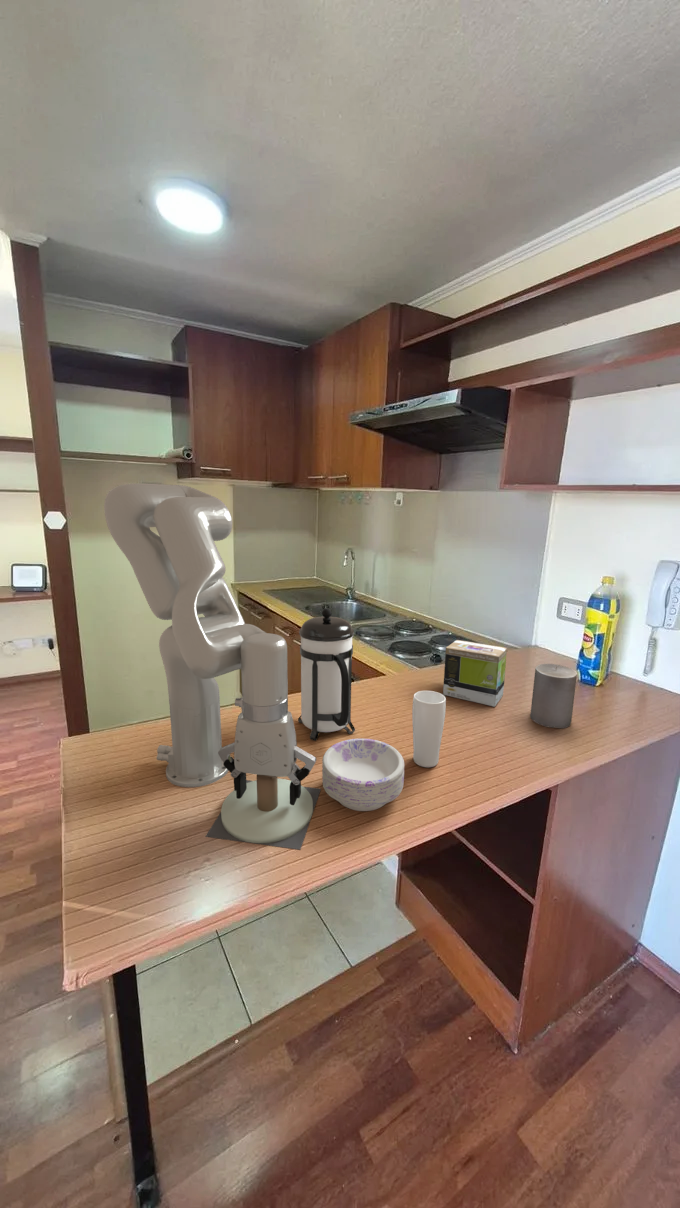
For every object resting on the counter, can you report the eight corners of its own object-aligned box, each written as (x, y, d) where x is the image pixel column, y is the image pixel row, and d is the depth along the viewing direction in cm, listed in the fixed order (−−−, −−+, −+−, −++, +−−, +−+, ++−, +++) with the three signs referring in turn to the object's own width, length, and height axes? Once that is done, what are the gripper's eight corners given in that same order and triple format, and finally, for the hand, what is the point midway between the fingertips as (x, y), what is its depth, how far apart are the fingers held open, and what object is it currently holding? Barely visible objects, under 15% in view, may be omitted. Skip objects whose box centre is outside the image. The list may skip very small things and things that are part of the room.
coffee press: (280, 735, 109) (278, 612, 102) (315, 709, 123) (315, 599, 116) (345, 754, 101) (348, 622, 94) (374, 724, 115) (378, 607, 108)
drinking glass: (419, 750, 103) (423, 687, 100) (447, 760, 99) (452, 696, 96) (403, 762, 98) (406, 697, 95) (432, 774, 94) (436, 706, 90)
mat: (205, 838, 75) (205, 836, 75) (241, 781, 91) (241, 779, 91) (300, 851, 73) (300, 849, 73) (321, 790, 88) (321, 788, 88)
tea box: (503, 695, 133) (508, 647, 130) (494, 708, 125) (499, 656, 122) (453, 684, 141) (456, 638, 138) (441, 695, 133) (445, 646, 129)
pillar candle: (544, 708, 125) (550, 656, 122) (579, 722, 117) (586, 667, 114) (522, 717, 120) (527, 663, 117) (556, 732, 112) (563, 675, 109)
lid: (205, 836, 75) (203, 797, 74) (241, 779, 91) (240, 746, 89) (300, 849, 73) (300, 809, 71) (321, 788, 88) (321, 754, 86)
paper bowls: (339, 832, 77) (340, 790, 75) (311, 781, 91) (311, 745, 89) (418, 811, 83) (420, 771, 81) (380, 766, 96) (381, 732, 95)
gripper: (207, 712, 75) (212, 804, 79) (310, 722, 72) (310, 817, 76) (225, 694, 82) (229, 779, 86) (320, 702, 79) (320, 789, 83)
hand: (267, 797), depth 81 cm, fingers open, 9 cm apart
